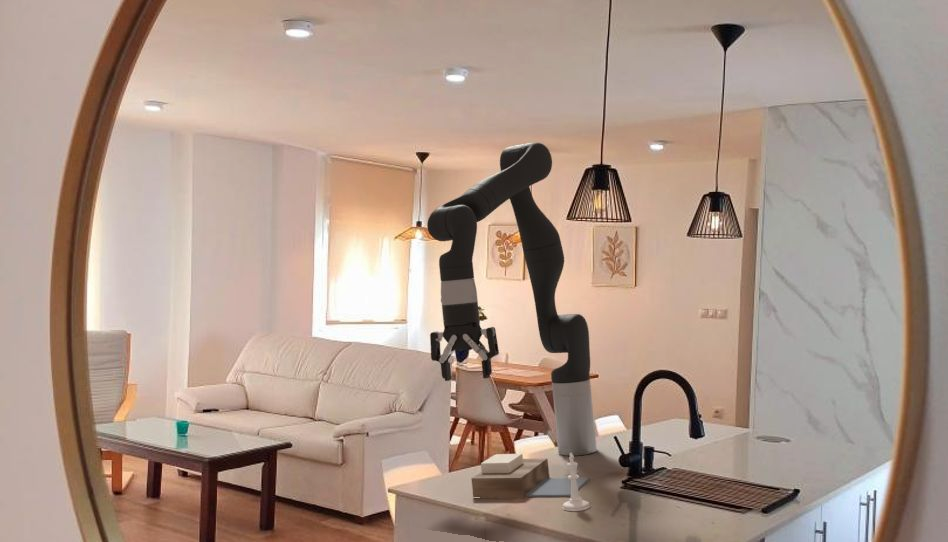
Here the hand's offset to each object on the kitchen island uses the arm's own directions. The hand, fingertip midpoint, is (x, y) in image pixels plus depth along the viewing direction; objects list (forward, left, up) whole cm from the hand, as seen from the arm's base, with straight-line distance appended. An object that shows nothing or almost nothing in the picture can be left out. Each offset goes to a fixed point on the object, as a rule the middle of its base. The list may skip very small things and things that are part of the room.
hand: (467, 379), depth 187 cm
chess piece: (+14, +25, -23) cm, 37 cm away
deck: (-2, +7, -23) cm, 24 cm away
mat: (-1, +17, -23) cm, 29 cm away
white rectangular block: (-2, +5, -19) cm, 20 cm away
